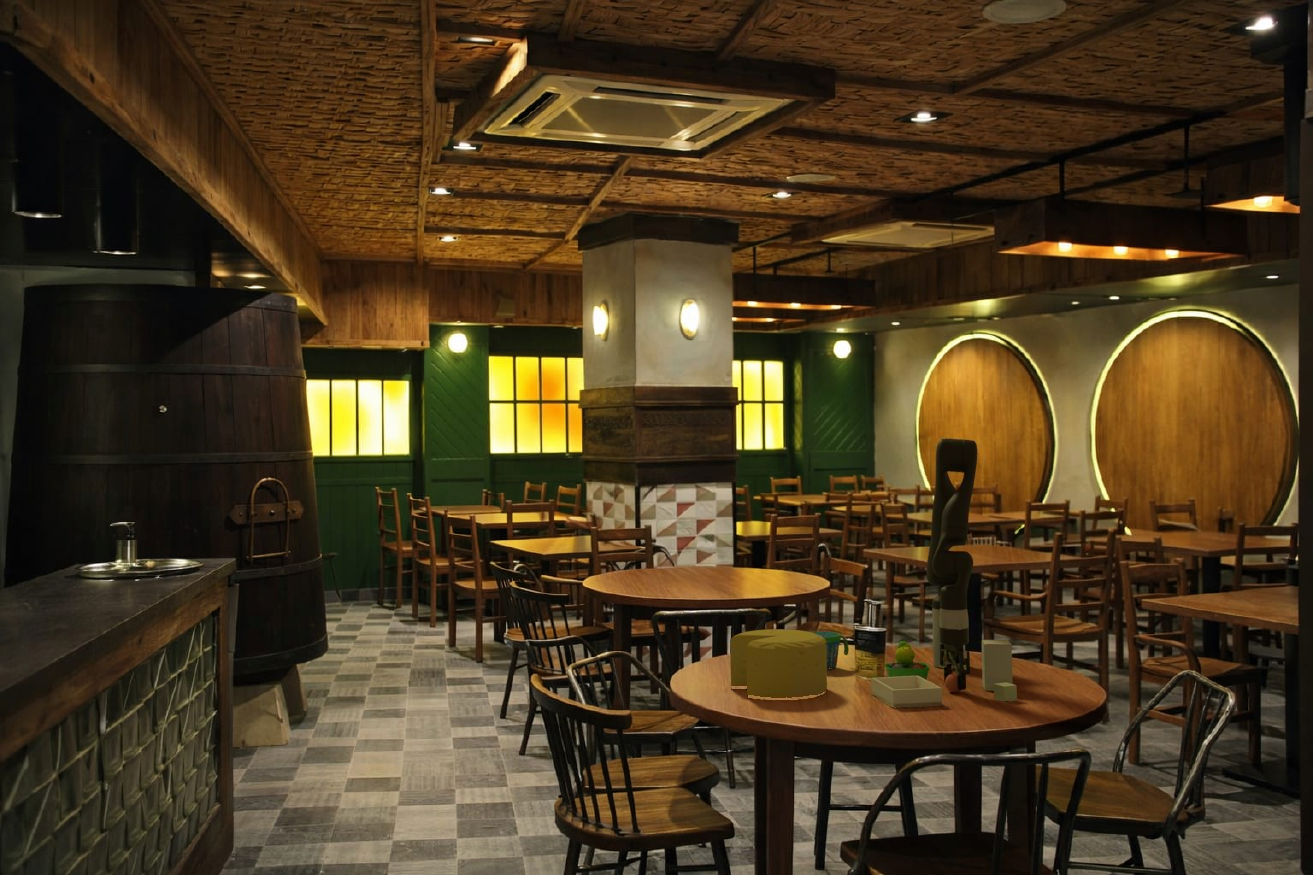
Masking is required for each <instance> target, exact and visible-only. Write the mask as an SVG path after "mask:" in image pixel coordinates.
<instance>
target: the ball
mask: <svg viewBox="0 0 1313 875" xmlns="http://www.w3.org/2000/svg"><path fill="white" fill-rule="evenodd" d="M957 676H958V675H957V672H956V673H954V672H953V674H950V675H948V676H947V678H946V680H945V682H944V683H945V684H944V685H945V687H946V689H947V690H948V691H950V692H951V693H959V692H961V691H962V690H958V689H957Z"/></svg>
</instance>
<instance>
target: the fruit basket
mask: <svg viewBox="0 0 1313 875" xmlns="http://www.w3.org/2000/svg"><path fill="white" fill-rule="evenodd" d="M894 656H895V662H890V663H884V667H885V669H886V672H887V673H886V674H887V677H899V676H920V677H922V678H924V679H926V680H927V681H928V673H929V671H930V668H931V667H930V666H929V665H928V664H927V663H925V662H915V661H914V659H915V657H916V654H915V651H914V649H913V648H912V646H911V645H910V644H909V642H906V641H905V640H903V641H900V642H898V645H897V649H896V651H895V654H894Z"/></svg>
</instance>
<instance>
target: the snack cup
mask: <svg viewBox="0 0 1313 875" xmlns="http://www.w3.org/2000/svg"><path fill="white" fill-rule="evenodd" d="M811 632H812V633H814V634H817V635H820V636H822V637H823V638H824V639H825V640H826V657H827V669H829V668H834V669H836V667H837V665H838V659H839V658H838V656H839V648H840V647H839V646H840V642H841V640H843V654H844V656H848V655H849V651H850V650H849V643H848V640H847V638H846V637H845V636H843V635H841V633H839V632H837V631H836V632H835V631H811ZM829 670H830V669H829Z"/></svg>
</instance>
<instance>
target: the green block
mask: <svg viewBox="0 0 1313 875" xmlns="http://www.w3.org/2000/svg"><path fill="white" fill-rule="evenodd" d="M1017 687H1018V686H1017V685H1016V684H1014V683H1012V684H1010V683H1006V682H1005V683H997V684H994V691H993V699H994V700H997V701H1000V702H1003V701H1009V702H1015V701H1018V693H1017V690H1018V689H1017Z"/></svg>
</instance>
